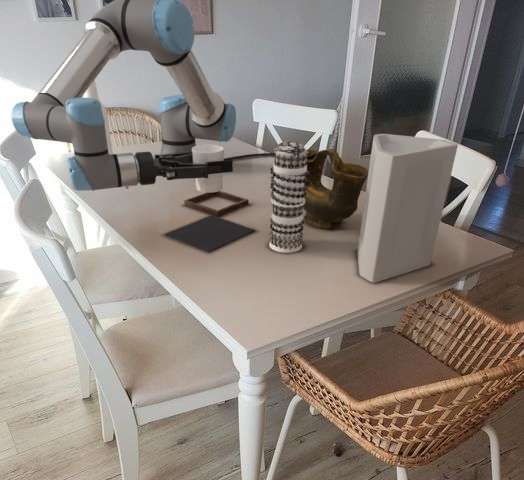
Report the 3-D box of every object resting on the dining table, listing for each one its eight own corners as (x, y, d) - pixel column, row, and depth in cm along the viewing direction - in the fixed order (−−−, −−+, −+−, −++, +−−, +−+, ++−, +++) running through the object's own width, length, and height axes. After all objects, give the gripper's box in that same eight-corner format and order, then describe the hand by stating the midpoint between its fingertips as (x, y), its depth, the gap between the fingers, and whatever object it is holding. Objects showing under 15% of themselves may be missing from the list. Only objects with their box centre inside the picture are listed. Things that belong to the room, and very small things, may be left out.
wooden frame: (215, 194, 163) (215, 189, 162) (248, 204, 156) (248, 199, 155) (184, 205, 154) (184, 200, 153) (218, 217, 147) (217, 211, 146)
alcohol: (83, 164, 185) (67, 70, 167) (102, 158, 191) (88, 67, 173) (100, 169, 181) (85, 73, 163) (119, 163, 187) (106, 70, 169)
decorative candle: (292, 256, 127) (299, 152, 113) (261, 247, 131) (263, 145, 116) (309, 244, 134) (318, 143, 119) (279, 235, 137) (283, 137, 123)
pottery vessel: (278, 213, 151) (281, 142, 139) (305, 205, 157) (310, 136, 145) (341, 241, 136) (351, 164, 124) (368, 231, 141) (380, 156, 130)
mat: (211, 216, 148) (211, 215, 147) (254, 231, 140) (254, 230, 139) (164, 235, 136) (164, 234, 136) (208, 252, 128) (208, 251, 128)
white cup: (200, 195, 129) (198, 154, 123) (189, 186, 134) (187, 146, 128) (229, 191, 132) (229, 150, 126) (217, 182, 137) (216, 143, 131)
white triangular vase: (388, 242, 135) (408, 129, 119) (431, 264, 125) (459, 144, 109) (332, 258, 127) (345, 139, 111) (372, 283, 117) (394, 156, 100)
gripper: (130, 172, 133) (214, 165, 141) (147, 198, 118) (240, 188, 125) (126, 142, 129) (214, 136, 136) (143, 165, 114) (240, 156, 121)
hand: (226, 161), depth 131 cm, fingers closed on white cup, 8 cm apart
